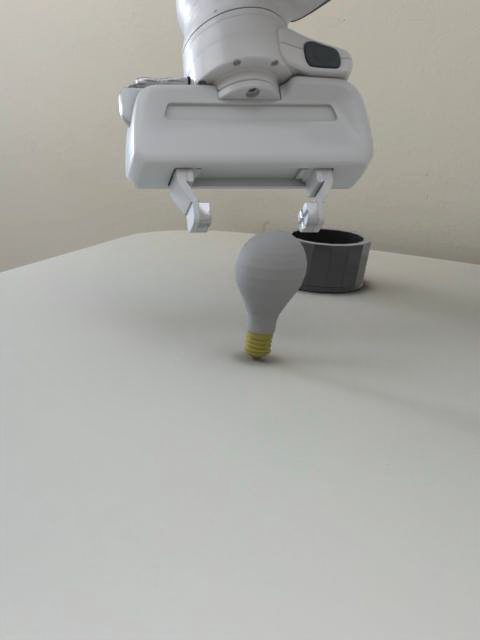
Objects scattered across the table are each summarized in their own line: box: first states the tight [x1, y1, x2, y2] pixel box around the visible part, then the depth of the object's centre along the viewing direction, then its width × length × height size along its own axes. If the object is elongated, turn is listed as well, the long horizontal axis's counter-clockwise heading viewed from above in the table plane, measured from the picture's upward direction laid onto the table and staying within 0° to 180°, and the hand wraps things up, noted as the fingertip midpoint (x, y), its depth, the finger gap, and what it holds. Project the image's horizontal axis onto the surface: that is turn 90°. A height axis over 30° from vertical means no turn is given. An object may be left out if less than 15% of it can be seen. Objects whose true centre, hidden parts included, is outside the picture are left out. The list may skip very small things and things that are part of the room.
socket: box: [284, 226, 373, 294], centre depth 102 cm, size 9×9×4 cm
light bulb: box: [234, 229, 307, 360], centre depth 79 cm, size 6×6×10 cm
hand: (256, 228), depth 81 cm, fingers open, 8 cm apart
